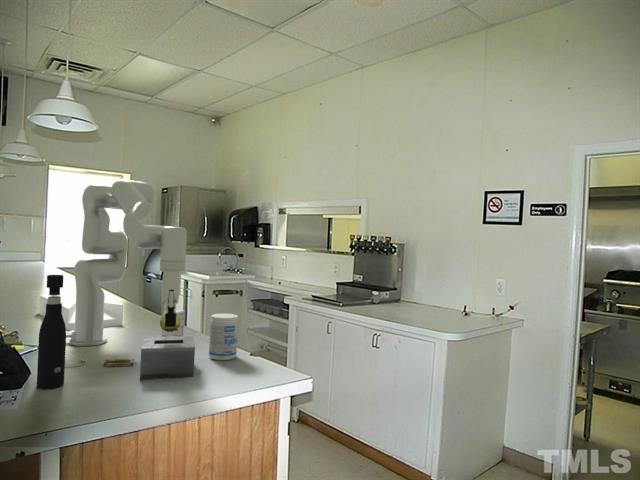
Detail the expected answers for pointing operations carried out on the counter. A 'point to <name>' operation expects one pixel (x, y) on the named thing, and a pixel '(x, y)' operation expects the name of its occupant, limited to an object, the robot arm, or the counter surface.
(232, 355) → the supplement tub
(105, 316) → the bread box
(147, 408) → the counter surface
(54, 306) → the black water bottle
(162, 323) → the coin
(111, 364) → the cradle
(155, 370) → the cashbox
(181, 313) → the ink box
